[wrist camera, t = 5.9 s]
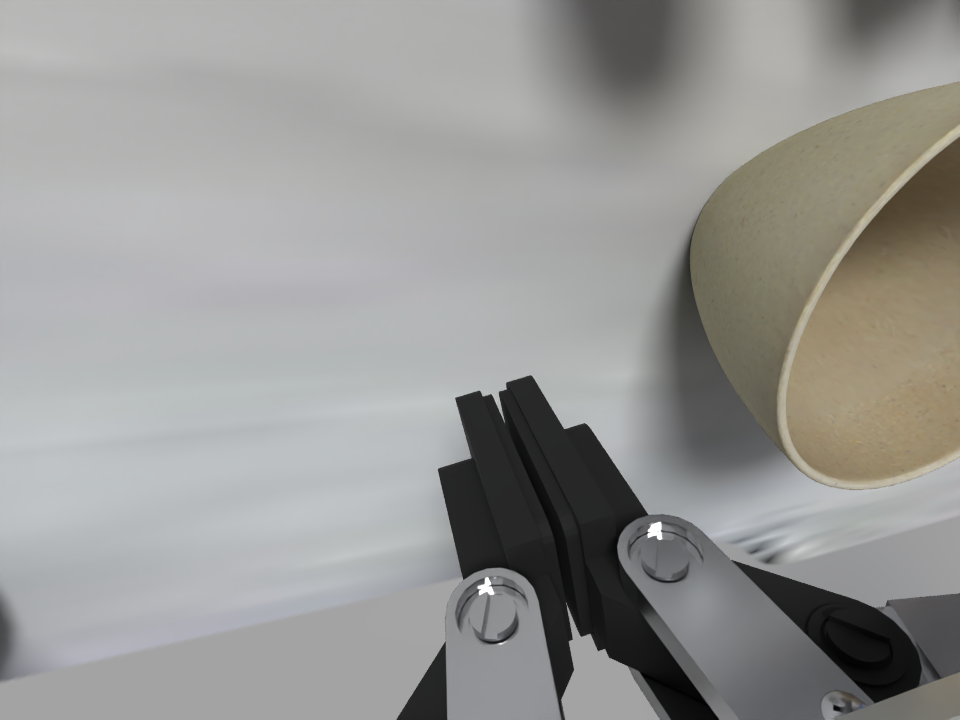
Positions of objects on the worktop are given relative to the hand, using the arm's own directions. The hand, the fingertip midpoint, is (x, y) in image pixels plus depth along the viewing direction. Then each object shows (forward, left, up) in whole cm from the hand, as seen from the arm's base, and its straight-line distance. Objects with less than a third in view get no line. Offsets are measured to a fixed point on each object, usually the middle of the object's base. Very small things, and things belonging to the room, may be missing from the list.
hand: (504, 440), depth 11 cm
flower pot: (+11, 0, -6) cm, 12 cm away
